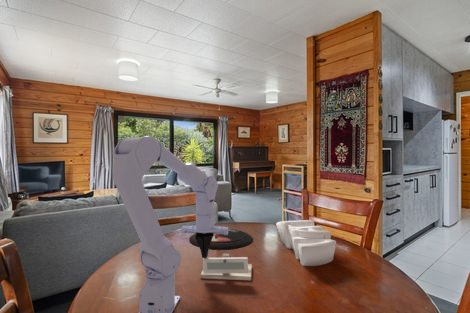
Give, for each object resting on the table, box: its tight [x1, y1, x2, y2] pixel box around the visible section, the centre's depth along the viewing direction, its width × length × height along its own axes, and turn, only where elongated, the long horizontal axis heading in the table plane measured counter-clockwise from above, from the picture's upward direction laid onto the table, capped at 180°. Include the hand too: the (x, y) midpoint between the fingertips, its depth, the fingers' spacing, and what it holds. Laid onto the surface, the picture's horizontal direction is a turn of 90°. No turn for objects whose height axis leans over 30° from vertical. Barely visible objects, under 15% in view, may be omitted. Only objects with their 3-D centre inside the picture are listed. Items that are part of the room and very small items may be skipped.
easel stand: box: [200, 253, 253, 281], centre depth 80 cm, size 9×16×7 cm, turn 85°
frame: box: [202, 256, 249, 274], centre depth 75 cm, size 2×14×4 cm, turn 85°
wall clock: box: [188, 227, 254, 251], centre depth 113 cm, size 26×5×30 cm
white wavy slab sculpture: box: [275, 219, 337, 267], centre depth 98 cm, size 35×16×11 cm, turn 3°
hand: (204, 256), depth 75 cm, fingers closed
